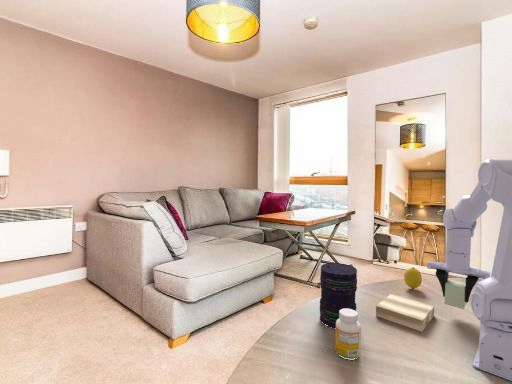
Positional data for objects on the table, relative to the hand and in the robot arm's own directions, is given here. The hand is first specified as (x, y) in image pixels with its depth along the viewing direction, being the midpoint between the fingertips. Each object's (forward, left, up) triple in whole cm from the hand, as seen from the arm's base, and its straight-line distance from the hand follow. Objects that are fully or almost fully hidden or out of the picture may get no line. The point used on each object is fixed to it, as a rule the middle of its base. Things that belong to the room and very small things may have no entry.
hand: (455, 298), depth 81 cm
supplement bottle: (-38, +14, -6) cm, 41 cm away
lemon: (+14, +15, -6) cm, 21 cm away
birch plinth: (-9, +11, -6) cm, 15 cm away
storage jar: (-26, +23, -6) cm, 35 cm away
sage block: (0, 0, -2) cm, 2 cm away
